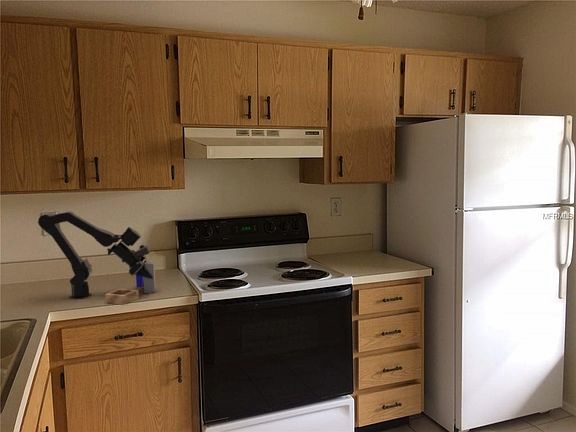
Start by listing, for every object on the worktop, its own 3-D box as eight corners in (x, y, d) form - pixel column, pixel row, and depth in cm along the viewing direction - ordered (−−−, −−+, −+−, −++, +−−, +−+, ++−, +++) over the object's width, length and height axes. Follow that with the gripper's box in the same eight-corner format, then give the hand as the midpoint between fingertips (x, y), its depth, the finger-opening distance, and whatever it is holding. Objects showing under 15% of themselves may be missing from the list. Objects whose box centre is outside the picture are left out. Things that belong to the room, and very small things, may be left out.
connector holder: (105, 302, 197) (104, 294, 196) (120, 296, 206) (119, 288, 205) (124, 304, 194) (123, 296, 193) (138, 298, 202) (138, 290, 202)
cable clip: (145, 280, 233) (144, 268, 233) (154, 280, 233) (153, 268, 232) (133, 287, 222) (132, 274, 221) (142, 287, 221) (141, 274, 220)
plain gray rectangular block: (144, 293, 210) (142, 264, 209) (145, 290, 214) (143, 262, 213) (154, 292, 211) (153, 263, 209) (155, 289, 215) (154, 261, 214)
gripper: (135, 243, 200) (163, 267, 204) (140, 237, 218) (166, 259, 222) (116, 263, 200) (145, 287, 203) (123, 255, 218) (149, 277, 221)
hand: (152, 276), depth 212 cm, fingers closed on plain gray rectangular block, 4 cm apart
